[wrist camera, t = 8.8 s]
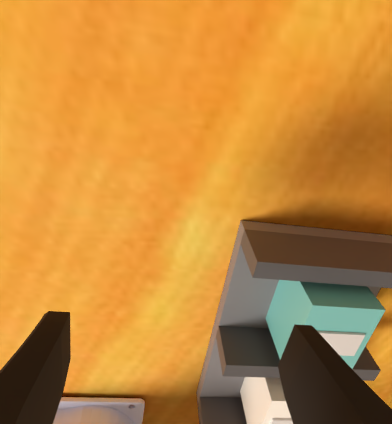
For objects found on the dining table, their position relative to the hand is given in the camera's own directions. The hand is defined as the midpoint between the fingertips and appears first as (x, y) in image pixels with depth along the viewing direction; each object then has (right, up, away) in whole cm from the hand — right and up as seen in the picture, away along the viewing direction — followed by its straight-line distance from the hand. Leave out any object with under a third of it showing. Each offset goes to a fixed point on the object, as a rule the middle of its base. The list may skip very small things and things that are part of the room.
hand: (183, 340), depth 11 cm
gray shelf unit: (+7, -4, +14) cm, 16 cm away
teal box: (+7, -1, +11) cm, 13 cm away
